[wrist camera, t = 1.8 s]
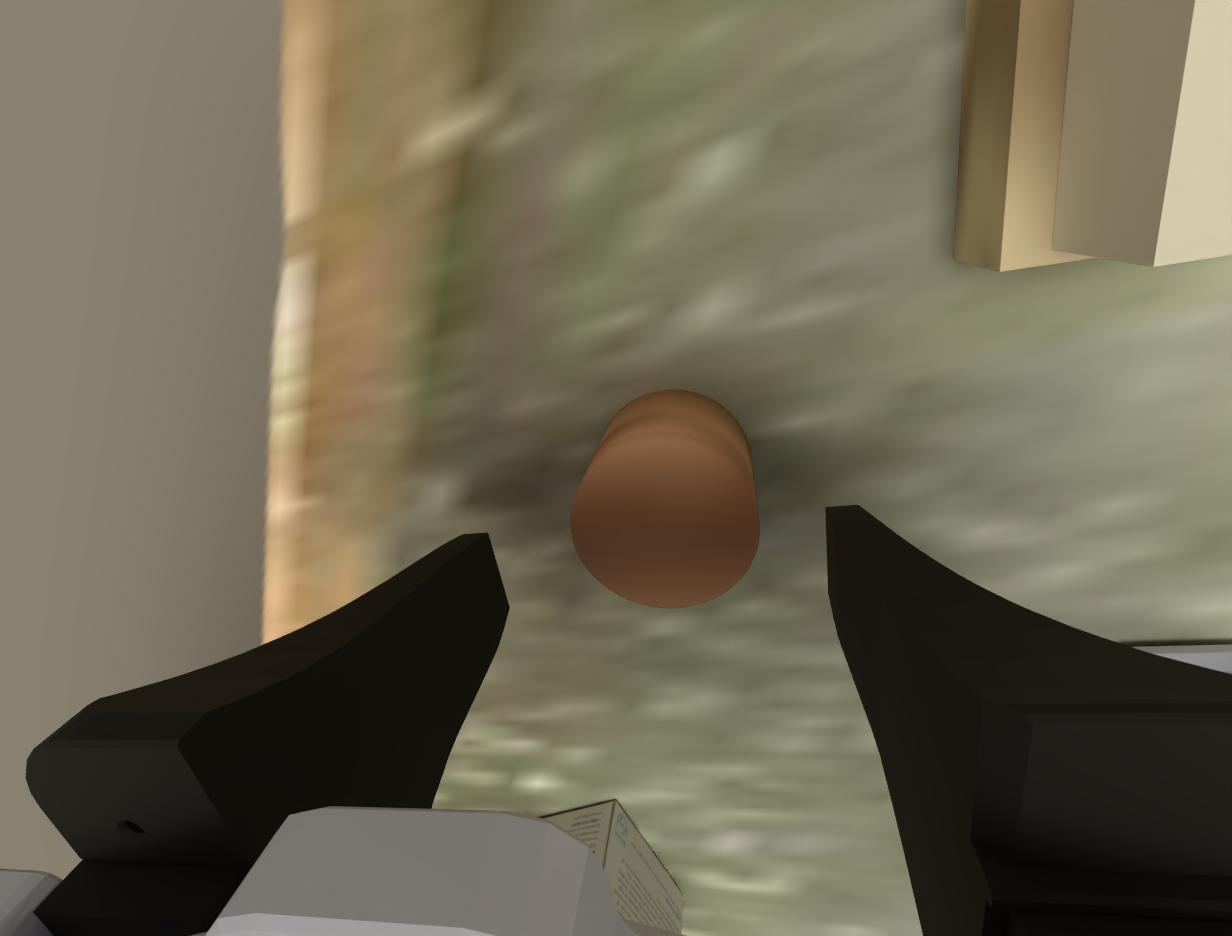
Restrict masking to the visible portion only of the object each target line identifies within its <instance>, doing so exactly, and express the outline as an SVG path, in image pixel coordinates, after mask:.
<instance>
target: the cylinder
mask: <svg viewBox="0 0 1232 936" xmlns="http://www.w3.org/2000/svg"><path fill="white" fill-rule="evenodd" d="M570 527H571V534H572V539H573V542H574V545H575V548H576V550H577V553H578V555H579V557H580V559H581V560H582V562H583V563H584V565H585V567H586V568H587V569H588V570H589V571H590V573H591V574H592V575H593V576H594V577H595V578H596V579H597V580H598V581H599V582H600V583H601V584H603V585H604V586H605V587H607V588H608V589H609V590H611V591H613V592H614V593H616V594H618V595H619V596H621V597H624V598H626V599H628V600H630V601H633V602H636V603H639V604H643V605H647V606H652V607H660V608H680V607H688V606H693V605H698V604H701V603H704V602H707V601H709V600H711V599H714V598H716V597H718V596H720V595H721V594H723V593H724V592H726V591H727V590H729V589H730V588H731V587H732V586H734V585H735V584H736V583H737V582H738V581H739V580H740V579H741V578H742V577H743V575H744V574H745V573H746V571H747V570H748V568H749V567H750V565H751V563H752V561H753V559H754V557H755V554H756V551H757V548H758V542H759V536H760V524H759V516H758V509H757V501H756V493H755V486H754V478H753V470H752V463H751V455H750V449H749V444H748V441H747V438H746V436H745V433H744V431H743V429H742V427H741V426H740V424H739V423H738V421H737V420H736V419H735V418H734V417H733V415H732V414H731V413H730V412H729V411H727V410H726V409H725V408H724V407H723V406H721V405H720V404H718V403H717V402H715V401H714V400H712V399H710V398H708V397H706V396H703V395H700V394H697V393H694V392H689V391H683V390H663V391H658V392H653V393H650V394H647V395H644V396H642V397H639V398H637V399H635V400H634V401H632V402H630V403H629V404H627V405H626V406H625V407H624V408H623V409H621V410H620V411H619V412H618V413H617V415H616V416H615V417H614V418H613V419H612V421H611V422H610V424H609V425H608V427H607V429H606V431H605V433H604V436H603V438H602V440H601V442H600V444H599V446H598V448H597V450H596V452H595V454H594V457H593V459H592V461H591V463H590V465H589V467H588V469H587V471H586V473H585V475H584V477H583V480H582V482H581V484H580V486H579V488H578V490H577V492H576V494H575V497H574V500H573V504H572V508H571V515H570Z"/></svg>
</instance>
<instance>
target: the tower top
mask: <svg viewBox="0 0 1232 936" xmlns="http://www.w3.org/2000/svg"><path fill="white" fill-rule="evenodd" d="M1051 250H1054V251H1060V252H1066V253H1072V254H1078V255H1084V256H1090V257H1096V258H1102V259H1108V260H1114V261H1120V262H1126V263H1133V264H1139V265H1145V266H1151V267H1156V266H1163V265H1169V264H1176V263H1182V262H1188V261H1195V260H1201V259H1207V258H1214V257H1220V256H1227V255H1232V0H1074V5H1073V16H1072V26H1071V37H1070V48H1069V59H1068V70H1067V81H1066V92H1065V103H1064V114H1063V125H1062V136H1061V147H1060V158H1059V169H1058V180H1057V190H1056V201H1055V212H1054V223H1053V234H1052V245H1051Z"/></svg>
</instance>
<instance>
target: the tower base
mask: <svg viewBox="0 0 1232 936" xmlns="http://www.w3.org/2000/svg"><path fill="white" fill-rule="evenodd" d="M1073 5H1074V0H966V20H965V41H964V61H963V82H962V103H961V123H960V144H959V165H958V185H957V206H956V227H955V247H954V260H956V261H960V262H964V263H968V264H972V265H976V266H980V267H983V268H987V269H991V270H995V271H999V272H1002V271H1009V270H1016V269H1022V268H1029V267H1036V266H1043V265H1050V264H1057V263H1064V262H1070V261H1077V260H1084V259H1091V258H1096V257H1090V256H1084V255H1078V254H1072V253H1066V252H1060V251H1054V250H1051V245H1052V234H1053V223H1054V212H1055V201H1056V190H1057V180H1058V169H1059V158H1060V147H1061V136H1062V125H1063V114H1064V103H1065V92H1066V81H1067V70H1068V59H1069V48H1070V37H1071V26H1072V16H1073Z"/></svg>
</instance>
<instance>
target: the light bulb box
mask: <svg viewBox="0 0 1232 936" xmlns="http://www.w3.org/2000/svg"><path fill="white" fill-rule="evenodd" d="M543 819H548V820H550V821H552V822H553V823H555V824H557V825H558V826H560V827H562V828H563V829H565V830H567V831H568V832H570V833H571V834H573V835H575V836H576V837H578V838H580V839H581V840H583V841H584V842H585V843H586V844H587V846H588V847H589V848H590V850H591V851H592V853H593V854H594V856H595V857H596V859H597V860H598V862H599V863H600V865H601V866H602V868H603V869H604V871H605V872H606V874H607V875H608V877H609V879H610V883H611V887H612V891H613V894H614V898H615V902H616V905H617V909H618V912H619V914H620V916H621V918H622V919H626V920H630V921H634V922H638V923H641V924H645V925H648V926H652V927H656V928H659V929H663V930H667V931H670V932H674V933H677V934H681V923H682V893H681V891H680V890H679V889H678V887H677V886H676V884H675V883H674V881H673V880H672V878H671V877H670V876H669V874H668V873H667V871H666V870H665V869H664V867H663V866H662V865H661V863H660V861H659V860H658V859H657V857H656V856H655V855H654V853H653V852H652V850H651V849H650V847H649V846H648V845H647V843H646V842H645V841H644V839H643V838H642V836H641V835H640V833H639V832H638V831H637V829H636V828H635V826H634V825H633V824H632V822H631V821H630V819H629V818H628V817H627V815H626V814H625V812H624V811H623V810H622V808H621V807H620V805H619V804H618V803H617V801H616V800H613V801H611V802H608V803H604V804H600V805H596V806H592V807H588V808H584V809H580V810H575V811H571V812H567V813H563V814H559V815H555V816H551V817H547V818H543Z"/></svg>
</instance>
